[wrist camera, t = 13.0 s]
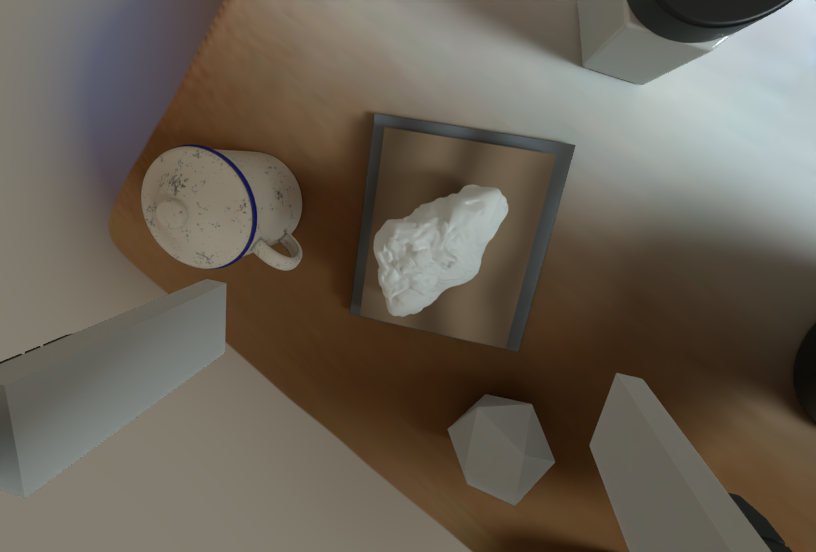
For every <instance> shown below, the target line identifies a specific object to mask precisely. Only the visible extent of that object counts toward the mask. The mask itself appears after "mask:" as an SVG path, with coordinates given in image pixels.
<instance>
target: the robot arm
mask: <svg viewBox="0 0 816 552" xmlns="http://www.w3.org/2000/svg"><path fill="white" fill-rule="evenodd" d="M225 328H226V283H222V282H218V281H214V280H209V279H205V280H203V281H200V282H198V283H195V284H193V285H190V286H188V287H186V288H183V289H181V290H178V291H176V292H174V293H171V294H169V295H166V296H164V297H162V298H159V299H157V300H154V301H152V302H149V303H147V304H144V305H142V306H140V307H137V308H135V309H132V310H130V311H127V312H125V313H123V314H120V315H118V316H115V317H113V318H110V319H108V320H106V321H103V322H101V323H98V324H96V325H94V326H91V327H89V328H86V329H84V330H81V331H79V332H76V333H74V334H70V335H65V336H63V337H60V338H58V339H56V340H53V341H51V342H48V343H46V344H44V345H43V346H42V347H40V346H39V347H36V348H33V349H31V350H28V351H26V352H25V354H23V355H22V354H19V355H16V356H14V357H12V358H9V359H6V360H4V361H2V362H0V490H2V491H5V492H8V493H11V494H14V495H17V496H20V497H23V498H26V497H27V496H29V495H30V494H32V493H33V492H34V491H36V490H37V489H39V488H40V487H41V486H42V485H44V484H45V483H47V482H48V481H49V480H51V479H52V478H54V477H55V476H56V475H58V474H59V473H60V472H62V471H63V470H65V469H66V468H67V467H69V466H70V465H72V464H73V463H74V462H76V461H77V460H78V459H80V458H81V457H82V456H84V455H85V454H87V453H88V452H89V451H90V450H92V449H93V448H95V447H96V446H98V445H99V444H100V443H102V442H103V441H104V440H106V439H107V438H109V437H110V436H111V435H113V434H114V433H115V432H116V431H118V430H120V429H121V428H122V427H124V426H125V425H126V424H128V423H129V422H131V421H132V420H133V419H135V418H136V417H137V416H138V415H140V414H142V413H143V412H144V411H146V410H147V409H148V408H150V407H151V406H152V405H154V404H155V403H157V402H158V401H159V400H161V399H162V398H163V397H165V396H166V395H167V394H169V393H170V392H172V391H173V390H175V389H176V388H177V387H179V386H180V385H181V384H183V383H184V382H186V381H187V380H188V379H190V378H191V377H192V376H194V375H195V374H197V373H198V372H199V371H201V370H202V369H203V368H205V367H206V366H208V365H209V364H210V363H212V362H213V361H214V360H216V359H217V358H219V357H220V356H221V355H222V354H224V353H225ZM794 383H795V389H796V393H797V396H798V399H799V401H800V403H801V405H802V406H803V408H804V409H805V411H806V412H807V414H808V415H809V416H810V417H811V418H812V419H813V420H814V421H815V422H816V325H815V326H814V327H813V328H812V330H811V331H810V332H809V334H808V335H807V337H806V338H805V340H804V342H803V344H802V346H801V348H800V350H799V353H798V355H797V359H796V363H795V368H794ZM589 446H590V449H591V451H592V454H593V457H594V459H595V462H596V465H597V467H598V470H599V473H600V475H601V478H602V481H603V483H604V486H605V488H606V491H607V494H608V496H609V499H610V502H611V504H612V507H613V510H614V512H615V515H616V518H617V520H618V523H619V525H620V528H621V531H622V533H623V536H624V539H625V541H626V544H627V547H628V549H629V552H792V551H791V549H790V548H789V547H786V546H785V542H784V541H783V539H782V538H781V537H780V536H779V534H778V533H777V532H776V531H775V529H774V528H773V527H772V526H771V524H770V523H769V522H768V521H767V519H766V518H765V517H763V516H762V515H761V514H760V513H759V512H758V511H757V510H755V509H754V508H753V507H752V506H751V505H750V504H749V503H747V502H746V501H745V500H744V499H743V498H742V497H740V496H739V495H735V494H731V493H727V491H726V490H725V489H724V487H723V486H722V485H721V483H720V482H719V481H718V479H717V478H716V477H715V475H714V474H713V473H712V471H711V470H710V469H709V467H708V466H707V464H706V463H705V462H704V460H703V459H702V458H701V456H700V455H699V454H698V452H697V451H696V450H695V448H694V447H693V446H692V444H691V443H690V442H689V440H688V439H687V438H686V436H685V435H684V434H683V432H682V431H681V430H680V428H679V427H678V426H677V424H676V423H675V422H674V420H673V419H672V418H671V416H670V415H669V414H668V412H667V411H666V410H665V408H664V407H663V405H662V404H661V403H660V401H659V400H658V399H657V397H656V396H655V395H654V393H653V392H652V391H651V389H650V388H649V387H648V385H647V384H646V383H645V381H644V380H643V379H641V378H637V377H633V376H628V375H624V374H620V373H616V375H615V378H614V380H613V383H612V386H611V388H610V391H609V394H608V397H607V399H606V402H605V405H604V407H603V410H602V413H601V415H600V418H599V421H598V423H597V426H596V429H595V432H594V434H593V437H592V440H591V442H590V445H589Z"/></svg>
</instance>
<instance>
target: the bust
mask: <svg viewBox="0 0 816 552" xmlns="http://www.w3.org/2000/svg"><path fill="white" fill-rule="evenodd" d="M507 213H508V204H507V200H506V198H505V196H503V195H502V194H501V191H500V190H499V189H498V188H494V187H480V186H478V185H473V184H472V185H467V186H464V187H463V188H462V190H461V191H460V192H459V193H458V194H454V193H453V194H450V195H449V196H448V197H444V198H437V199H436V200H435V201H433V202H430V203H426V204H422V205H420V207H419V208H416V209H415V210H414V212H413V213H412V214H411V215H410V216H407V217H404V218H403V219H390V220H387V221H386V222H385V224H384V225H383V226H382V227H381V229H380V230H379V231H378V232H377V233H376V235H375V238H374V246H373V249H374V254H375V257H376V259H377V262H378V265H379V268H378V280H379V285H380V286H381V287H382V292H383V295H384V296H385V299H386V305H387V309H388V312H389V313H390V314H391V315H393V316H401V317H403V316H406V315H408V314H416V313H418V312H420V311H421V310H422V309H423V308H424V307H427V306H429V305H430V304H432V303H433V301H435V300H436V299H437V298H438V296H439V295H440V294H441V293H442V292H443V291H445V290H446V289H448V288H450V287H453V286H457V285H461V284H464V283H466V282H468V281H470V280H471V279H473V278H474V276H475V275H476V274H477V273H478V271H479V268H480V265H481V258H482V255H483V253H484V250H485V247H486V245H487V244H488V242H489V241H490V240H491V239H492V238H493V237H494V235H495V233H496V232H497V230H498V228H499V226H500V224H501V222H502V221H503V220H504V218H505V217H506V215H507Z"/></svg>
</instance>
